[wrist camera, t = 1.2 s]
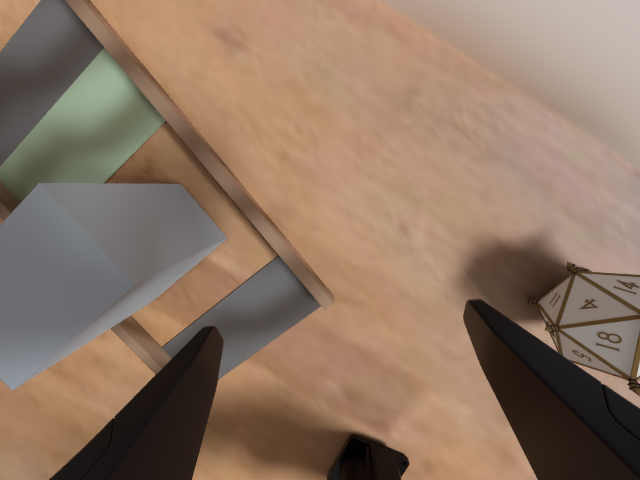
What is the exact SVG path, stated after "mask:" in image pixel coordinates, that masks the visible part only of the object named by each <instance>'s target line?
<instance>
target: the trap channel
mask: <svg viewBox="0 0 640 480" xmlns="http://www.w3.org/2000/svg"><path fill="white" fill-rule="evenodd" d="M165 121H167V122H168V124H169V125H170V126H171V127H172V128H173V130H174V131H175V132H176V133H177V134H178V136H179V137H180V138H181V139H182V140H183V142H184V143H185V144H186V145H187V146H188V147H189V149H190V150H191V151H192V152H193V153H194V155H195V156H196V157H197V158H198V159H199V161H200V162H201V163H202V164H203V165H204V167H205V168H206V169H207V170H208V171H209V173H210V174H211V175H212V176H213V177H214V178H215V180H216V181H217V182H218V183H219V184H220V186H221V187H222V188H223V189H224V190H225V192H226V193H227V194H228V195H229V196H230V198H231V199H232V200H233V201H234V202H235V204H236V205H237V206H238V207H239V208H240V209H241V211H242V212H243V213H244V214H245V215H246V217H247V218H248V219H249V220H250V221H251V223H252V224H253V225H254V226H255V227H256V229H257V230H258V231H259V232H260V233H261V235H262V236H263V237H264V238H265V239H266V240H267V242H268V243H269V244H270V245H271V246H272V248H273V249H274V250H275V251H276V252H277V254H278V255H279V256H278V257H277V258H275V259H274V260H273V261H272V262H270V263H269V264H268V265H267V266H265V267H264V268H263V269H261V270H260V271H259V272H258V273H256V274H255V275H254V276H253V277H251V278H250V279H249V280H247V281H246V282H245V283H244V284H242V285H241V286H240V287H239V288H237V289H236V290H235V291H233V292H232V293H231V294H230V295H228V296H227V297H226V298H225V299H223V300H222V301H221V302H219V303H218V304H217V305H216V306H214V307H213V308H212V309H211V310H209V311H208V312H207V313H205V314H204V315H203V316H202V317H200V318H199V319H198V320H197V321H195V322H194V323H193V324H191V325H190V326H189V327H188V328H186V329H185V330H184V331H183V332H181V333H180V334H179V335H177V336H176V337H175V338H174V339H172V340H171V341H170V342H169V343H167V344H166V345H165V346H163V347H162V348H161V347H160V345H159V344H158V343H157V342H156V341H155V340H154V339H153V338H152V337H151V336H150V335H149V334H148V333H147V332H146V331H145V330H144V329H143V328H142V327H141V326H140V325H139V324H138V323H137V322H136V321H135V319H134V318H133V317H132V316H129V317H128V318H126V319H124V320H123V321H121V322H120V323H118V324H117V325H115V326H113V327H112V328H111V330H112V331H113V332H114V333H115V334H116V335H117V336H118V337H119V338H120V339H121V340H122V341H123V342H124V343H125V344H126V345H127V346H128V347H129V348H130V349H131V350H132V351H133V352H134V353H135V354H136V355H137V356H138V357H139V358H140V359H141V360H142V361H143V362H144V363H145V364H146V365H147V366H148V367H149V368H150V369H151V370H152V371H153V372H154V373H155V374H157V373H158V372H159V371H160V370H161V369H162V368H163V367H164V366H165V365H166V364H167V363H168V362H169V361H170V360H171V359H172V358H173V357H174V356H175V355H176V354H177V353H178V352H179V351H180V350H181V349H182V348H183V347H184V346H185V345H186V344H187V343H188V342H189V341H190V340H191V339H192V338H193V337H194V336H195V335H196V334H197V333H198V331H199V330H200V329H201V328H203V327H205V326H212V325H214V326H216V327H217V329H218V331H219V333H220V334H221V336H222V338H223V341H224V345H223V352H222V358H221V364H220V370H219V376H218V379H220V378H221V377H222V376H224V375H225V374H227V373H228V372H229V371H231V370H232V369H234V368H235V367H236V366H238V365H239V364H241V363H242V362H243V361H245V360H246V359H248V358H249V357H250V356H252V355H253V354H255V353H256V352H257V351H259V350H260V349H262V348H263V347H264V346H266V345H267V344H269V343H270V342H271V341H273V340H274V339H276V338H277V337H278V336H280V335H281V334H283V333H284V332H285V331H287V330H288V329H289V328H291V327H292V326H294V325H295V324H296V323H298V322H299V321H301V320H302V319H303V318H305V317H306V316H308V315H309V314H310V313H312V312H313V311H315V310H316V309H317V308H319V307H320V306H322V307H323V308H324V310H326V309H327V308H329V307H330V306H331V305H333V304H334V295H333V294H332V293H331V292H330V291H329V289H328V288H327V287H326V286H325V284H324V283H323V282H322V281H321V280H320V278H319V277H318V276H317V275H316V274H315V272H314V271H313V270H312V269H311V268H310V266H309V265H308V264H307V263H306V261H305V260H304V259H303V258H302V257H301V255H300V254H299V253H298V252H297V251H296V249H295V248H294V247H293V246H292V245H291V243H290V242H289V241H288V240H287V238H286V237H285V236H284V235H283V234H282V232H281V231H280V230H279V229H278V228H277V226H276V225H275V224H274V223H273V222H272V220H271V219H270V218H269V217H268V216H267V214H266V213H265V212H264V211H263V209H262V208H261V207H260V206H259V205H258V203H257V202H256V201H255V200H254V199H253V197H252V196H251V195H250V194H249V193H248V191H247V190H246V189H245V188H244V186H243V185H242V184H241V183H240V182H239V180H238V179H237V178H236V177H235V176H234V174H233V173H232V172H231V171H230V170H229V168H228V167H227V166H226V165H225V163H224V162H223V161H222V160H221V159H220V157H219V156H218V155H217V154H216V153H215V151H214V150H213V149H212V148H211V147H210V145H209V144H208V143H207V142H206V140H205V139H204V138H203V137H202V136H201V134H200V133H199V132H198V131H197V130H196V128H195V127H194V126H193V125H192V124H191V122H190V121H189V120H188V119H187V117H186V116H185V115H184V114H183V113H182V111H181V110H180V109H179V108H178V107H177V105H176V104H175V103H174V102H173V101H172V99H171V98H170V97H169V96H168V94H167V93H166V92H165V91H164V90H163V88H162V87H161V86H160V85H159V84H158V82H157V81H156V80H155V79H154V78H153V76H152V75H151V74H150V73H149V71H148V70H147V69H146V68H145V67H144V65H143V64H142V63H141V62H140V61H139V59H138V58H137V57H136V56H135V55H134V53H133V52H132V51H131V50H130V48H129V47H128V46H127V45H126V44H125V42H124V41H123V40H122V39H121V38H120V36H119V35H118V34H117V33H116V32H115V30H114V29H113V28H112V27H111V25H110V24H109V23H108V22H107V21H106V19H105V18H104V17H103V16H102V15H101V13H100V12H99V11H98V10H97V9H96V7H95V6H94V5H93V4H92V2H91V1H90V0H41V1H40V2H39V3H38V5H37V6H36V7H35V8H34V10H33V11H32V12H31V14H30V15H29V16H28V17H27V19H26V20H25V21H24V23H23V24H22V25H21V26H20V28H19V29H18V30H17V31H16V33H15V34H14V35H13V37H12V38H11V39H10V40H9V42H8V43H7V44H6V46H5V47H4V48H3V49H2V51H1V52H0V216H1V218H2V219H3V220H5V219H6V218H7V217H8V216H9V215H10V214H11V213H12V212H13V211H14V210H15V209H16V207H17V206H18V205H19V204H20V203H21V202H22V201H23V200H24V199H25V198H26V197H27V196H28V195H29V193H30V192H31V191H32V190H33V189H34V188H35V187H36V186H37V185H38V184H39V183H105V182H106V181H107V180H108V179H109V178H110V177H111V176H112V175H113V174H114V173H115V172H116V171H117V170H118V169H119V168H120V167H121V166H122V165H123V164H124V163H125V162H126V161H127V160H128V159H129V158H130V157H131V156H132V155H133V154H134V153H135V152H136V151H137V150H138V149H139V148H140V147H141V146H142V145H143V144H144V143H145V142H146V140H147V139H148V138H149V137H150V136H151V135H152V134H153V133H154V132H155V131H156V130H157V129H158V128H159V127H160V126H161V125H162V124H163V123H164V122H165Z"/></svg>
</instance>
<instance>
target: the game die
mask: <svg viewBox="0 0 640 480" xmlns="http://www.w3.org/2000/svg"><path fill="white" fill-rule="evenodd" d="M575 266H576V265H575V264H572V263H570V262H568V261H567V267H566V268H567V269H568V271H570V272H571V274H570V275H569V276H567V277H566V278H565V279H564V280H562V281H561V282H560V283H559V284H558V285H556V286H555V287H554V288H553V289H551V290H550V291H549V292H548V293H546V294H545V295H544V296H543V297H542V298H540V299H539V300H536V299H535V298H531V297H530V298H526V299H525V300H526V301H527V302H528V303H532V304H537V306H538V308H539V310H540V313H541V315H542V317H543V319H544V322H545V324H546V328H545V330H546V331H548V332H549V333H550V335H551V337H552V339H553V342H554V344H555V346H556V348H557V350H558V353H560V354H561V355H562V356H564V357H565V358H567V359H568V360H570V361H571V362H573V363H576V364H579V365H582V366H585V367H588V368H592V369H595V370H598V371H601V372H604V373H607V374H610V375H613V376H616V377H620V378H623V379H626V380H628V381H629V384H628V385H629V387H630V388H629V389H630V390H632V391H633V392H635V393H636V394H637V395H638V396H640V384H639V383H638V382H637V381H638V380H640V275H631V274H615V273H599V272H592V271H590V270H588V269H586V268H585V269H584V270H583V271H577V267H575Z"/></svg>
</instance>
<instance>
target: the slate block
mask: <svg viewBox="0 0 640 480" xmlns="http://www.w3.org/2000/svg"><path fill="white" fill-rule="evenodd" d="M226 239H228V238H227V237H226V236H225V234H224V233H223V232H222V231H221V230H220V229H219V228H218V226H217V225H216V224H215V223H214V222H213V221H212V219H211V218H210V217H209V216H208V215H207V214H206V212H205V211H204V210H203V209H202V208H201V207H200V205H199V204H198V203H197V202H196V201H195V200H194V198H193V197H192V196H191V195H190V194H189V193H188V191H187V190H186V189H185V188H184V187H183V186H182V185H181V184H127V183H39V184H38V185H37V186H36V187H35V188H34V189H33V190H32V191H31V192H30V193H29V195H28V196H27V197H26V198H25V199H24V200H23V201H22V202H21V203H20V204H19V205H18V206H17V207H16V209H15V210H14V211H13V212H12V213H11V214H10V215H9V216H8V217H7V218H6V219H5V220H4V221H3V223H2V224H1V225H0V379H1V380H2V381H3V382H4V383H5V384H6V385H7V386H8V387H9V388H10V389H12V390H14V389H16V388H17V387H19V386H21V385H22V384H24V383H25V382H27V381H28V380H30V379H32V378H33V377H35V376H36V375H38V374H39V373H41V372H43V371H44V370H46V369H47V368H49V367H50V366H52V365H54V364H55V363H57V362H58V361H60V360H62V359H63V358H65V357H66V356H68V355H69V354H71V353H73V352H74V351H76V350H77V349H79V348H80V347H82V346H84V345H85V344H87V343H88V342H90V341H91V340H93V339H95V338H96V337H98V336H99V335H101V334H102V333H104V332H106V331H107V330H109V329H110V328H112V327H113V326H115V325H117V324H118V323H120V322H121V321H123V320H124V319H126V318H128V317H129V316H131V315H132V314H134V313H135V312H137V311H139V310H140V309H142V308H143V307H145V306H146V305H148V304H150V303H151V302H153V301H154V300H155V299H156V298H157V297H158V296H160V295H161V294H162V293H163V292H164V291H166V290H167V289H168V288H169V287H170V286H172V285H173V284H174V283H175V282H176V281H178V280H179V279H180V278H181V277H182V276H184V275H185V274H186V273H187V272H188V271H189V270H191V269H192V268H193V267H194V266H195V265H197V264H198V263H199V262H200V261H201V260H203V259H204V258H205V257H206V256H207V255H209V254H210V253H211V252H212V251H213V250H215V249H216V248H217V247H218V246H219V245H220V244H222V243H223V242H224V241H225V240H226Z"/></svg>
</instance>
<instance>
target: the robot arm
mask: <svg viewBox="0 0 640 480" xmlns="http://www.w3.org/2000/svg"><path fill="white" fill-rule="evenodd" d="M463 319H464V323H465V326H466V328H467V331H468V334H469V336H470V339H471V342H472V344H473V347H474V350H475V352H476V355H477V358H478V360H479V363H480V365H481V367H482V370H483V372H484V374H485V376H486V378H487V380H488V382H489V384H490V386H491V388H492V390H493V392H494V394H495V396H496V398H497V400H498V402H499V404H500V406H501V407H502V409H503V411H504V413H505V415H506V417H507V419H508V421H509V423H510V425H511V427H512V429H513V431H514V433H515V435H516V437H517V439H518V441H519V443H520V445H521V447H522V449H523V451H524V453H525V455H526V457H527V459H528V461H529V463H530V465H531V467H532V469H533V471H534V473H535V475H536V477H537V479H538V480H640V408H638V407H637V406H635V405H634V404H632V403H631V402H629V401H628V400H626V399H625V398H623V397H622V396H621V395H619V394H618V393H616V392H615V391H613V390H612V389H610V388H609V387H607V386H606V385H604V384H601V382H600V381H599V380H597V379H596V378H594V377H593V376H591V375H590V374H589V373H587V372H586V371H584V370H583V369H581V368H580V367H578V366H577V365H576V364H574V363H573V362H571V361H570V360H568V359H567V358H565V357H564V356H562V355H561V354H560V353H558V352H557V351H555V350H554V349H552V348H551V347H549V346H548V345H547V344H545V343H544V342H542V341H541V340H539V339H538V338H536V337H535V336H534V335H532V334H531V333H529V332H528V331H526V330H525V329H523V328H522V327H521V326H519V325H518V324H516V323H515V322H513V321H512V320H510V319H509V318H508V317H506V316H505V315H503V314H502V313H500V312H499V311H497V310H496V309H495V308H493V307H492V306H490V305H489V304H487V303H486V302H484V301H483V300H481V299H472V300H468V301H467V302H466V306H465V310H464V315H463ZM223 345H224V341H223V338H222V336H221V334H220V333H219V331H218V329H217V327H216V326H214V325H212V326H205V327H203V328H201V329H200V330H199V331H198V333H197V334H196V335H195V336H194V337H193V338H192V339H191V340H190V341H189V342H188V343H187V344H186V345H185V346H184V347H183V348H182V349H181V350H180V351H179V352H178V353H177V354H176V355H175V356H174V357H173V358H172V359H171V360H170V361H169V362H168V363H167V364H166V365H165V366H164V367H163V368H162V369H161V370H160V371H159V372H158V373H157V374H156V375H155V376H154V377H153V378H152V379H151V380H150V381H149V382H148V383H147V384H146V385H145V386H144V387H143V388H142V389H141V390H140V391H139V392H138V393H137V394H136V395H135V397H134V398H133V399H132V400H131V401H130V402H129V403H128V404H127V405H126V406H125V407H124V408H123V409H122V410H121V411H120V412H119V413H118V414H117V415H116V416H115V419H114V418H113V419H112V420H111V421H110V422H109V423H108V424H107V425H106V426H105V427H104V428H103V429H102V430H101V431H100V432H99V433H98V434H97V435H96V436H95V437H94V438H93V439H92V440H91V441H90V442H89V443H88V444H87V445H86V446H85V447H84V448H83V449H82V450H81V451H79V452H78V453H77V454H76V455H75V456H74V457H73V458H72V459H71V460H70V461H69V462H68V463H67V464H66V465H65V466H63V467H62V468H61V469H60V470H59V471H58V472H57V473H56V474H55V475H54V476H53V477H51V478H50V479H49V480H192V477H193V473H194V469H195V466H196V462H197V458H198V455H199V451H200V447H201V443H202V440H203V436H204V432H205V428H206V425H207V421H208V417H209V414H210V410H211V406H212V402H213V399H214V395H215V391H216V387H217V382H218V376H219V370H220V364H221V358H222V352H223ZM408 466H409V460H408V458H407V457H406V456H404V455H402V454H400V453H397V452H395V451H392V450H390V449H388V448H385V447H383V446H380V445H378V444H376V443H373V442H371V441H368V440H366V439H364V438H361V437H359V436H356V435H351V436H350V437H349V439H348V440H347V442H346V444H345V446H344V447H343V449H342V451H341V453H340V454H339V456H338V458H337V460H336V461H335V463H334V465H333V467H332V468H331V470H330V472H329V474H328V476H327V480H401V477H402V475H403V474H404V472H405V470H406V469H407V467H408Z"/></svg>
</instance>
